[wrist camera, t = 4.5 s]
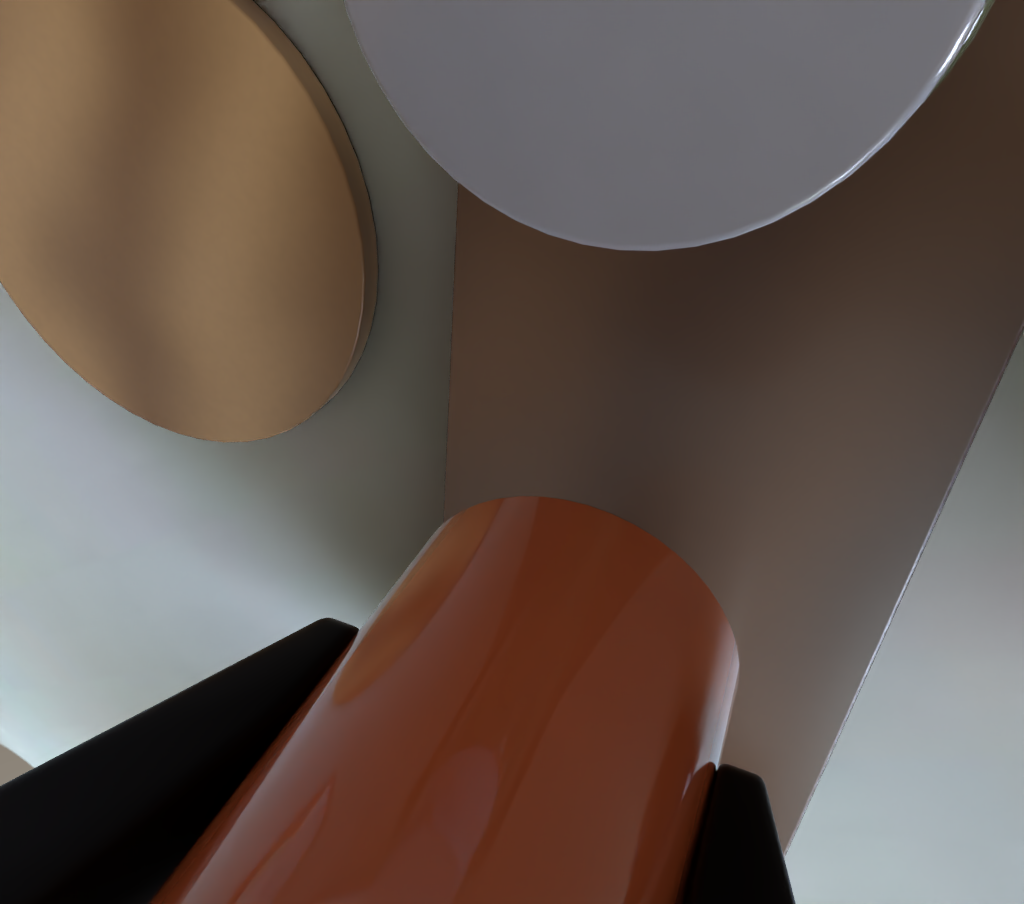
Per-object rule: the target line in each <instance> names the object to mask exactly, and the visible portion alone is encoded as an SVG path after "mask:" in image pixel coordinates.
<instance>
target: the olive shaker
mask: <svg viewBox="0 0 1024 904" xmlns="http://www.w3.org/2000/svg"><path fill="white" fill-rule="evenodd" d="M343 1H344V4H345V8H346V11H347V15H348V17H349V20H350V22H351V25H352V27H353V30H354V32H355V35H356V38H357V40H358V43H359V45H360V48H361V50H362V53H363V55H364V57H365V59H366V61H367V63H368V65H369V67H370V69H371V70H372V72H373V74H374V76H375V78H376V80H377V82H378V84H379V86H380V88H381V90H382V92H383V93H384V95H385V96H386V98H387V99H388V101H389V102H390V104H391V105H392V107H393V108H394V110H395V111H396V113H397V114H398V116H399V118H400V119H401V121H402V122H403V124H404V125H405V126H406V127H407V129H408V130H409V131H410V132H411V133H412V135H413V136H414V137H415V138H416V139H417V141H418V142H419V143H420V144H421V146H422V147H423V148H424V149H425V150H426V152H427V153H428V154H429V155H430V156H431V157H432V158H433V159H434V160H435V161H436V162H437V163H438V164H439V165H440V166H441V167H442V168H443V169H445V170H446V171H447V172H448V173H449V174H450V175H451V176H452V177H453V178H454V179H455V180H456V181H457V182H459V183H460V184H461V185H463V186H464V187H465V188H467V189H468V190H469V191H470V192H472V193H473V194H474V195H476V196H477V197H478V198H480V199H481V200H482V201H484V202H485V203H487V204H488V205H490V206H492V207H494V208H495V209H497V210H499V211H500V212H502V213H504V214H505V215H507V216H509V217H511V218H512V219H514V220H516V221H518V222H520V223H523V224H525V225H527V226H530V227H532V228H534V229H537V230H539V231H541V232H544V233H546V234H548V235H551V236H555V237H558V238H562V239H565V240H569V241H572V242H576V243H579V244H583V245H587V246H594V247H601V248H607V249H614V250H620V251H666V250H675V249H683V248H692V247H699V246H703V245H707V244H711V243H715V242H719V241H723V240H728V239H732V238H736V237H738V236H741V235H744V234H746V233H749V232H751V231H754V230H757V229H759V228H762V227H764V226H767V225H770V224H772V223H775V222H777V221H779V220H780V219H782V218H784V217H786V216H788V215H790V214H792V213H794V212H795V211H797V210H799V209H801V208H803V207H805V206H807V205H809V204H810V203H812V202H814V201H816V200H817V199H818V198H820V197H821V196H823V195H824V194H826V193H827V192H828V191H830V190H831V189H833V188H834V187H836V186H837V185H838V184H840V183H841V182H843V181H844V180H846V179H847V178H848V177H850V176H851V175H853V174H854V173H855V172H856V171H857V170H858V169H859V168H860V167H862V166H863V165H864V164H865V163H866V162H867V161H868V160H869V159H871V158H872V157H873V156H874V155H875V154H876V153H877V152H878V151H880V150H881V149H882V148H883V147H884V146H885V145H886V144H887V143H889V142H890V140H891V139H892V138H893V137H894V136H895V135H896V134H897V133H898V131H899V130H900V129H901V128H902V127H903V126H904V125H905V124H906V122H907V121H908V120H909V119H910V118H911V117H912V116H913V115H914V114H915V112H916V111H917V110H918V109H919V108H920V107H921V106H922V105H923V103H924V102H925V101H926V100H927V99H928V98H929V97H930V95H931V94H932V93H933V92H934V91H935V90H936V89H937V88H938V87H939V85H940V84H941V83H942V82H943V81H944V80H945V79H946V77H947V76H948V74H949V73H950V72H951V70H952V69H953V67H954V66H955V65H956V63H957V62H958V60H959V59H960V58H961V56H962V55H963V53H964V52H965V50H966V49H967V48H968V46H969V45H970V43H971V42H972V41H973V39H974V38H975V36H976V34H977V32H978V31H979V29H980V27H981V25H982V23H983V22H984V20H985V18H986V16H987V14H988V13H989V11H990V9H991V7H992V5H993V4H994V2H995V0H343Z"/></svg>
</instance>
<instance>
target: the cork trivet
mask: <svg viewBox="0 0 1024 904" xmlns="http://www.w3.org/2000/svg"><path fill="white" fill-rule="evenodd" d="M0 282H1V283H2V285H3V287H4V288H5V290H6V291H7V293H8V294H9V296H10V297H11V299H12V300H13V301H14V303H15V304H16V306H17V307H18V308H19V310H20V311H21V313H22V314H23V315H24V317H25V318H26V319H27V320H28V322H29V323H30V324H31V325H32V327H33V328H34V329H35V330H36V331H37V333H38V334H39V335H40V336H41V337H42V339H43V340H44V341H45V342H46V343H47V344H48V345H49V346H50V347H51V348H52V349H53V350H54V351H55V353H56V354H57V355H58V356H59V357H60V358H61V359H62V360H63V361H64V362H65V363H66V364H67V365H68V366H70V367H71V368H72V369H73V370H74V371H75V372H76V373H77V374H79V375H80V376H81V377H82V378H83V379H84V380H85V381H86V382H88V383H89V384H90V385H92V386H93V387H94V388H96V389H97V390H98V391H100V392H101V393H102V394H103V395H105V396H106V397H107V398H109V399H110V400H112V401H114V402H115V403H117V404H118V405H120V406H121V407H123V408H125V409H126V410H128V411H129V412H131V413H133V414H135V415H137V416H139V417H141V418H143V419H145V420H147V421H149V422H151V423H153V424H155V425H157V426H160V427H162V428H165V429H168V430H170V431H173V432H175V433H178V434H182V435H186V436H190V437H194V438H197V439H202V440H210V441H218V442H248V441H254V440H259V439H265V438H270V437H272V436H275V435H278V434H281V433H283V432H286V431H289V430H291V429H292V428H294V427H296V426H297V425H299V424H301V423H302V422H304V421H306V420H307V419H309V418H310V417H311V416H312V415H313V414H315V413H316V412H317V411H318V410H319V409H320V408H322V407H323V406H324V405H325V404H326V403H327V402H328V401H330V400H331V399H332V398H333V397H334V396H335V395H336V394H337V393H338V392H339V390H340V389H341V388H342V387H343V385H344V384H345V383H346V381H347V380H348V379H349V378H350V376H351V374H352V372H353V371H354V369H355V367H356V365H357V363H358V361H359V360H360V358H361V356H362V353H363V351H364V348H365V345H366V342H367V339H368V336H369V333H370V330H371V326H372V321H373V316H374V310H375V305H376V300H377V282H378V258H377V243H376V232H375V227H374V221H373V216H372V210H371V205H370V200H369V196H368V192H367V189H366V186H365V182H364V179H363V176H362V172H361V169H360V165H359V162H358V159H357V157H356V155H355V152H354V150H353V147H352V145H351V142H350V140H349V138H348V135H347V133H346V130H345V128H344V125H343V123H342V121H341V120H340V118H339V116H338V114H337V112H336V110H335V108H334V106H333V105H332V103H331V101H330V99H329V97H328V95H327V93H326V91H325V90H324V88H323V86H322V85H321V83H320V82H319V80H318V79H317V77H316V76H315V74H314V73H313V71H312V70H311V68H310V67H309V65H308V64H307V62H306V61H305V59H304V58H303V56H302V55H301V53H300V52H299V51H298V50H297V49H296V47H295V46H294V45H293V44H292V43H291V41H290V40H289V39H288V38H287V36H286V35H285V34H284V33H283V32H282V30H281V29H280V28H279V27H278V26H277V24H276V23H275V22H274V21H273V20H272V19H271V18H270V17H269V16H268V15H267V14H266V13H265V12H264V11H263V10H262V9H261V8H260V7H259V6H258V5H257V4H256V3H255V2H254V1H253V0H0Z"/></svg>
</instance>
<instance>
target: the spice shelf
mask: <svg viewBox="0 0 1024 904" xmlns="http://www.w3.org/2000/svg"><path fill="white" fill-rule="evenodd" d="M1023 329H1024V0H995V2H994V4H993V5H992V7H991V9H990V11H989V13H988V14H987V16H986V18H985V20H984V22H983V23H982V25H981V27H980V29H979V31H978V32H977V34H976V36H975V38H974V39H973V41H972V42H971V43H970V45H969V46H968V48H967V49H966V50H965V52H964V53H963V55H962V56H961V58H960V59H959V60H958V62H957V63H956V65H955V66H954V67H953V69H952V70H951V72H950V73H949V74H948V76H947V77H946V79H945V80H944V81H943V82H942V83H941V84H940V85H939V87H938V88H937V89H936V90H935V91H934V92H933V93H932V94H931V95H930V97H929V98H928V99H927V100H926V101H925V102H924V103H923V105H922V106H921V107H920V108H919V109H918V110H917V111H916V112H915V114H914V115H913V116H912V117H911V118H910V119H909V120H908V121H907V122H906V124H905V125H904V126H903V127H902V128H901V129H900V130H899V131H898V133H897V134H896V135H895V136H894V137H893V138H892V139H891V140H890V142H889V143H887V144H886V145H885V146H884V147H883V148H882V149H881V150H880V151H878V152H877V153H876V154H875V155H874V156H873V157H872V158H871V159H869V160H868V161H867V162H866V163H865V164H864V165H863V166H862V167H860V168H859V169H858V170H857V171H856V172H855V173H854V174H853V175H851V176H850V177H848V178H847V179H846V180H844V181H843V182H841V183H840V184H838V185H837V186H836V187H834V188H833V189H831V190H830V191H828V192H827V193H826V194H824V195H823V196H821V197H820V198H818V199H817V200H816V201H814V202H812V203H810V204H809V205H807V206H805V207H803V208H801V209H799V210H797V211H795V212H794V213H792V214H790V215H788V216H786V217H784V218H782V219H780V220H779V221H777V222H775V223H772V224H770V225H767V226H764V227H762V228H759V229H757V230H754V231H751V232H749V233H746V234H744V235H741V236H738V237H736V238H732V239H728V240H723V241H719V242H715V243H711V244H707V245H703V246H699V247H692V248H683V249H675V250H666V251H620V250H614V249H607V248H601V247H594V246H587V245H583V244H579V243H576V242H572V241H569V240H565V239H562V238H558V237H555V236H551V235H548V234H546V233H544V232H541V231H539V230H537V229H534V228H532V227H530V226H527V225H525V224H523V223H520V222H518V221H516V220H514V219H512V218H511V217H509V216H507V215H505V214H504V213H502V212H500V211H499V210H497V209H495V208H494V207H492V206H490V205H488V204H487V203H485V202H484V201H482V200H481V199H480V198H478V197H477V196H476V195H474V194H473V193H472V192H470V191H469V190H468V189H467V188H465V187H464V186H463V185H461V184H460V183H459V182H458V196H457V219H456V242H455V265H454V288H453V311H452V334H451V357H450V380H449V403H448V426H447V449H446V472H445V495H444V518H443V524H444V523H445V522H446V521H447V520H448V519H450V518H451V517H453V516H455V515H456V514H458V513H459V512H461V511H463V510H465V509H467V508H470V507H472V506H475V505H477V504H479V503H483V502H487V501H491V500H495V499H498V498H506V497H515V496H545V497H552V498H560V499H566V500H570V501H575V502H579V503H583V504H587V505H590V506H593V507H596V508H598V509H601V510H604V511H607V512H610V513H612V514H614V515H616V516H619V517H621V518H623V519H625V520H627V521H629V522H631V523H633V524H635V525H637V526H638V527H640V528H642V529H643V530H645V531H647V532H648V533H650V534H651V535H653V536H655V537H656V538H658V539H659V540H660V541H662V542H663V543H664V544H666V545H667V546H668V547H669V548H671V549H672V550H673V551H675V552H676V553H677V554H678V555H679V556H680V557H681V558H682V559H683V560H684V561H685V562H687V563H688V564H689V565H690V566H691V567H692V568H693V569H694V570H695V571H696V573H697V574H698V575H699V576H700V577H701V579H702V580H703V581H704V582H705V583H706V584H707V586H708V587H709V588H710V590H711V591H712V593H713V594H714V596H715V597H716V599H717V601H718V602H719V604H720V605H721V607H722V609H723V611H724V613H725V615H726V617H727V619H728V622H729V624H730V626H731V629H732V632H733V635H734V639H735V642H736V645H737V651H738V658H739V684H738V688H737V692H736V697H735V701H734V705H733V710H732V714H731V718H730V722H729V727H728V731H727V735H726V739H725V743H724V748H723V752H722V756H721V760H720V765H721V764H730V765H733V766H735V767H738V768H741V769H743V770H746V771H749V772H752V773H754V774H757V775H759V776H760V777H761V778H762V779H763V781H764V783H765V785H766V788H767V792H768V796H769V800H770V804H771V808H772V812H773V816H774V820H775V824H776V828H777V832H778V836H779V840H780V844H781V848H782V852H783V856H784V858H785V856H786V853H787V851H788V849H789V847H790V844H791V842H792V840H793V838H794V836H795V833H796V831H797V829H798V827H799V825H800V822H801V820H802V818H803V816H804V814H805V811H806V809H807V807H808V805H809V802H810V800H811V798H812V796H813V794H814V791H815V789H816V787H817V785H818V783H819V780H820V778H821V776H822V774H823V772H824V769H825V767H826V765H827V763H828V760H829V758H830V756H831V754H832V752H833V749H834V747H835V745H836V743H837V741H838V738H839V736H840V734H841V732H842V730H843V727H844V725H845V723H846V721H847V718H848V716H849V714H850V712H851V710H852V707H853V705H854V703H855V701H856V699H857V696H858V694H859V692H860V690H861V688H862V685H863V683H864V681H865V679H866V676H867V674H868V672H869V670H870V668H871V665H872V663H873V661H874V659H875V657H876V654H877V652H878V650H879V648H880V646H881V643H882V641H883V639H884V637H885V634H886V632H887V630H888V628H889V626H890V623H891V621H892V619H893V617H894V615H895V612H896V610H897V608H898V606H899V604H900V601H901V599H902V597H903V595H904V592H905V590H906V588H907V586H908V584H909V581H910V579H911V577H912V575H913V573H914V570H915V568H916V566H917V564H918V562H919V559H920V557H921V555H922V553H923V550H924V548H925V546H926V544H927V542H928V539H929V537H930V535H931V533H932V531H933V528H934V526H935V524H936V522H937V520H938V517H939V515H940V513H941V511H942V508H943V506H944V504H945V502H946V500H947V497H948V495H949V493H950V491H951V489H952V486H953V484H954V482H955V480H956V478H957V475H958V473H959V471H960V469H961V466H962V464H963V462H964V460H965V458H966V455H967V453H968V451H969V449H970V447H971V444H972V442H973V440H974V438H975V436H976V433H977V431H978V429H979V427H980V424H981V422H982V420H983V418H984V416H985V413H986V411H987V409H988V407H989V405H990V402H991V400H992V398H993V396H994V394H995V391H996V389H997V387H998V385H999V382H1000V380H1001V378H1002V376H1003V374H1004V371H1005V369H1006V367H1007V365H1008V363H1009V360H1010V358H1011V356H1012V354H1013V352H1014V349H1015V347H1016V345H1017V343H1018V340H1019V338H1020V336H1021V334H1022V332H1023ZM720 765H719V766H720Z"/></svg>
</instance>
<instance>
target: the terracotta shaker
mask: <svg viewBox="0 0 1024 904" xmlns="http://www.w3.org/2000/svg"><path fill="white" fill-rule="evenodd" d="M738 684H739V658H738V651H737V645H736V642H735V639H734V635H733V632H732V629H731V626H730V624H729V622H728V619H727V617H726V615H725V613H724V611H723V609H722V607H721V605H720V604H719V602H718V601H717V599H716V597H715V596H714V594H713V593H712V591H711V590H710V588H709V587H708V586H707V584H706V583H705V582H704V581H703V580H702V579H701V577H700V576H699V575H698V574H697V573H696V571H695V570H694V569H693V568H692V567H691V566H690V565H689V564H688V563H687V562H685V561H684V560H683V559H682V558H681V557H680V556H679V555H678V554H677V553H676V552H675V551H673V550H672V549H671V548H669V547H668V546H667V545H666V544H664V543H663V542H662V541H660V540H659V539H658V538H656V537H655V536H653V535H651V534H650V533H648V532H647V531H645V530H643V529H642V528H640V527H638V526H637V525H635V524H633V523H631V522H629V521H627V520H625V519H623V518H621V517H619V516H616V515H614V514H612V513H610V512H607V511H604V510H601V509H598V508H596V507H593V506H590V505H587V504H583V503H579V502H575V501H570V500H566V499H560V498H552V497H545V496H515V497H506V498H498V499H495V500H491V501H487V502H483V503H479V504H477V505H475V506H472V507H470V508H467V509H465V510H463V511H461V512H459V513H458V514H456V515H455V516H453V517H451V518H450V519H448V520H447V521H446V522H445V523H444V524H443V525H441V526H440V527H439V528H438V529H437V530H436V531H435V532H434V534H433V535H432V536H431V537H430V539H429V540H428V541H427V543H426V544H425V545H424V546H423V548H422V549H421V550H420V552H419V553H418V554H417V556H416V557H415V558H414V559H413V561H412V562H411V563H410V565H409V566H408V567H407V569H406V570H405V571H404V572H403V574H402V575H401V576H400V578H399V579H398V580H397V582H396V583H395V584H394V585H393V587H392V588H391V589H390V591H389V592H388V593H387V594H386V596H385V597H384V598H383V600H382V601H381V602H380V604H379V605H378V606H377V607H376V609H375V610H374V611H373V613H372V614H371V615H370V617H369V618H368V619H367V620H366V622H365V623H364V624H363V626H362V627H361V628H360V630H359V631H358V632H357V633H356V635H355V636H354V637H353V639H352V640H351V641H350V642H349V644H348V645H347V646H346V648H345V649H344V650H343V652H342V653H341V654H340V655H339V657H338V658H337V659H336V661H335V662H334V663H333V665H332V666H331V667H330V668H329V670H328V671H327V672H326V674H325V675H324V676H323V677H322V679H321V680H320V681H319V683H318V684H317V685H316V687H315V688H314V689H313V690H312V692H311V693H310V694H309V696H308V697H307V698H306V700H305V701H304V702H303V703H302V705H301V706H300V707H299V709H298V710H297V711H296V713H295V714H294V715H293V716H292V718H291V719H290V720H289V722H288V723H287V724H286V725H285V727H284V728H283V729H282V731H281V732H280V733H279V735H278V736H277V737H276V738H275V740H274V741H273V742H272V744H271V745H270V746H269V748H268V749H267V750H266V751H265V753H264V754H263V755H262V757H261V758H260V759H259V760H258V762H257V763H256V764H255V766H254V767H253V768H252V770H251V771H250V772H249V773H248V775H247V776H246V777H245V779H244V780H243V781H242V783H241V784H240V785H239V786H238V788H237V789H236V790H235V792H234V793H233V794H232V796H231V797H230V798H229V799H228V801H227V802H226V803H225V805H224V806H223V807H222V808H221V810H220V811H219V812H218V814H217V815H216V816H215V818H214V819H213V820H212V821H211V823H210V824H209V825H208V827H207V828H206V829H205V831H204V832H203V833H202V834H201V836H200V837H199V838H198V840H197V841H196V842H195V843H194V845H193V846H192V847H191V849H190V850H189V851H188V853H187V854H186V855H185V856H184V858H183V859H182V860H181V862H180V863H179V864H178V866H177V867H176V868H175V869H174V871H173V872H172V873H171V875H170V876H169V877H168V879H167V880H166V881H165V882H164V884H163V885H162V886H161V888H160V889H159V890H158V891H157V893H156V894H155V895H154V897H153V898H152V899H151V901H150V902H149V903H148V904H685V903H686V898H687V893H688V888H689V884H690V880H691V876H692V872H693V867H694V863H695V859H696V855H697V851H698V846H699V842H700V838H701V834H702V830H703V825H704V821H705V817H706V813H707V809H708V804H709V800H710V796H711V792H712V788H713V783H714V779H715V775H716V771H717V769H718V767H719V765H720V760H721V756H722V752H723V748H724V743H725V739H726V735H727V731H728V727H729V722H730V718H731V714H732V710H733V705H734V701H735V697H736V692H737V688H738Z"/></svg>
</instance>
